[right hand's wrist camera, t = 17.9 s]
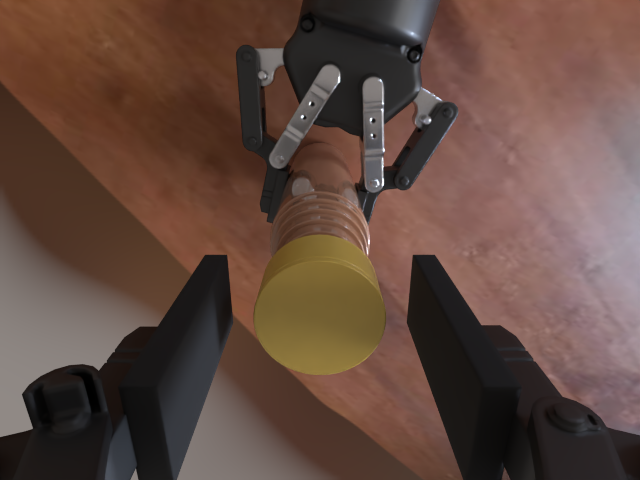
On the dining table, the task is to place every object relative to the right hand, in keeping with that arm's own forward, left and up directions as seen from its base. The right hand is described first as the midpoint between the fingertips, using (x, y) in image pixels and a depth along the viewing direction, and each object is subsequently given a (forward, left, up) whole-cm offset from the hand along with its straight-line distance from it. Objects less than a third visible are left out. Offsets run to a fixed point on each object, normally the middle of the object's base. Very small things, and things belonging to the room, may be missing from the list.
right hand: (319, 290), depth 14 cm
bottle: (0, 0, -21) cm, 21 cm away
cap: (0, 0, +2) cm, 2 cm away
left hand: (-2, -1, -14) cm, 14 cm away
